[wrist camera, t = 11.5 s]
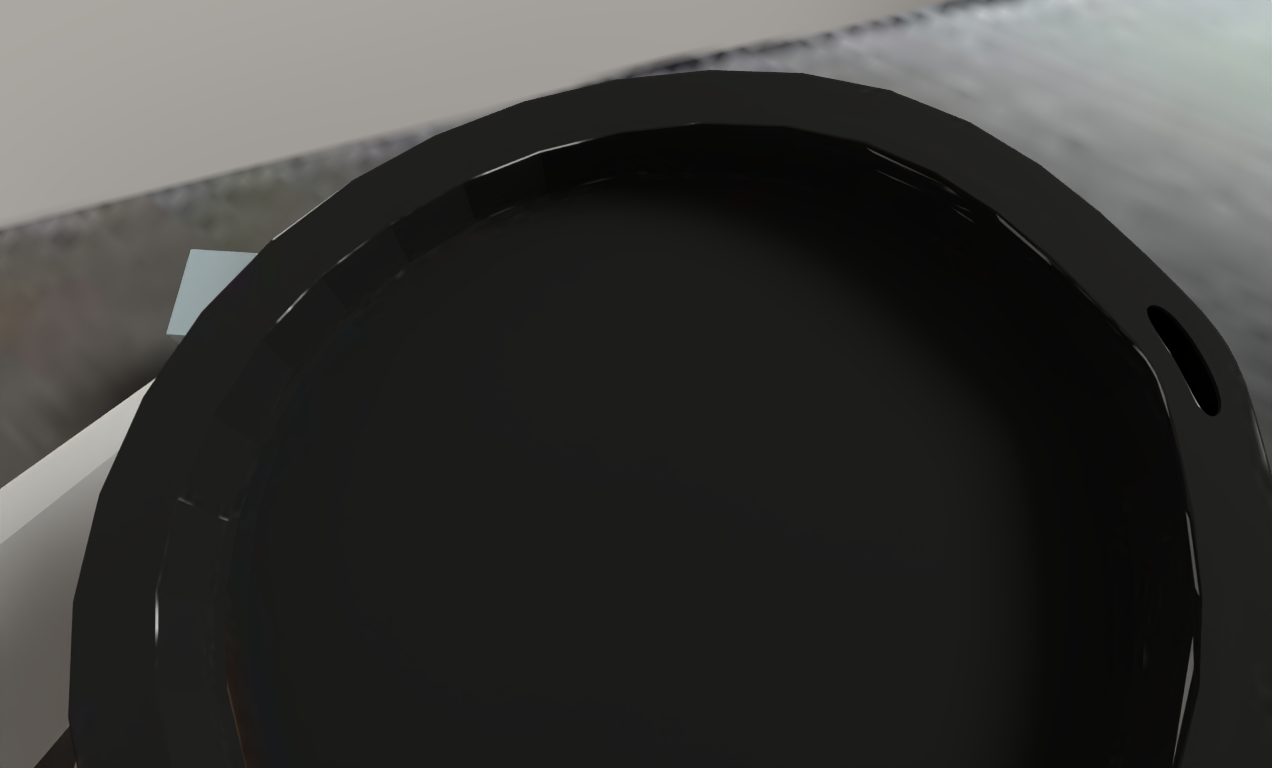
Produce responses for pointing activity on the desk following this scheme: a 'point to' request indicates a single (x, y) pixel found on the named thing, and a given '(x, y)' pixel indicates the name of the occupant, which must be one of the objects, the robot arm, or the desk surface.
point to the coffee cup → (688, 465)
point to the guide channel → (203, 287)
